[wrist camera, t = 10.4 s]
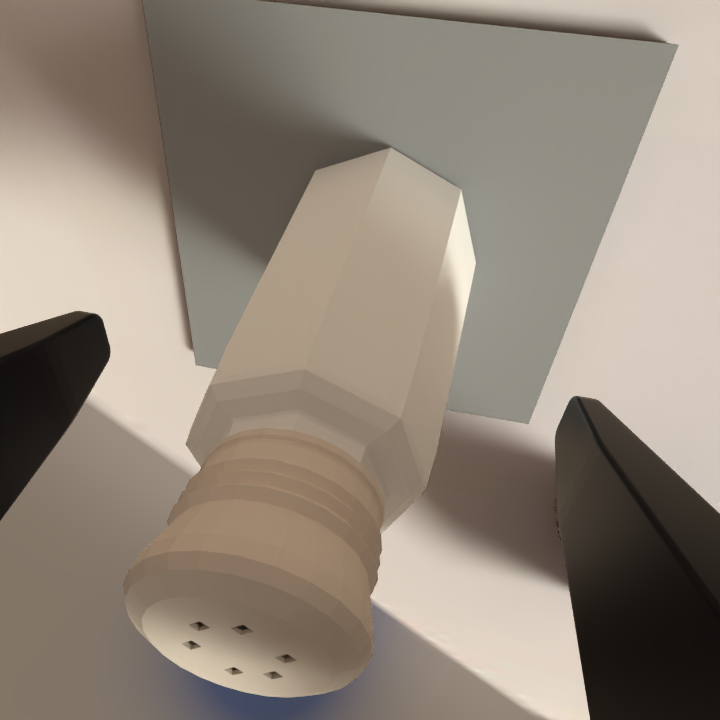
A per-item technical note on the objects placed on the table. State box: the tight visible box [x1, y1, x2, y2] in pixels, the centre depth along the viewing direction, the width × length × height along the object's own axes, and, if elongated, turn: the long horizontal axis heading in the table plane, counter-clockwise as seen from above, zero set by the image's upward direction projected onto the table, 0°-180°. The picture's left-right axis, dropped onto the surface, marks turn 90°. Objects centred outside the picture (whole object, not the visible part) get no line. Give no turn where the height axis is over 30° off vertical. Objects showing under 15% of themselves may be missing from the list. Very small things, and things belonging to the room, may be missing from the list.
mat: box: [142, 0, 678, 424], centre depth 14 cm, size 12×11×1 cm
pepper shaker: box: [123, 148, 476, 697], centre depth 10 cm, size 5×5×11 cm
